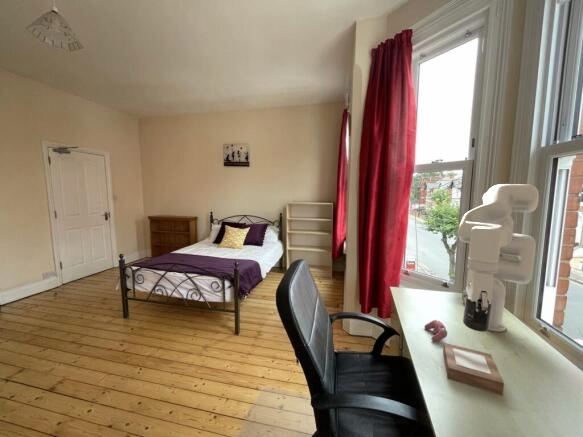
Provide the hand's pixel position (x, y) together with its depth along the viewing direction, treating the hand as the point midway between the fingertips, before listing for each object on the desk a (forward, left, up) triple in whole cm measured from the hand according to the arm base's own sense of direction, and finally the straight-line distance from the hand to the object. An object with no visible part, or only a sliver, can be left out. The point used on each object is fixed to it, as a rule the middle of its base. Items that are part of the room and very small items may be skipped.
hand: (476, 317), depth 79 cm
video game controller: (-17, -9, -20) cm, 28 cm away
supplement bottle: (0, 0, -4) cm, 4 cm away
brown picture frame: (0, 0, -20) cm, 20 cm away
